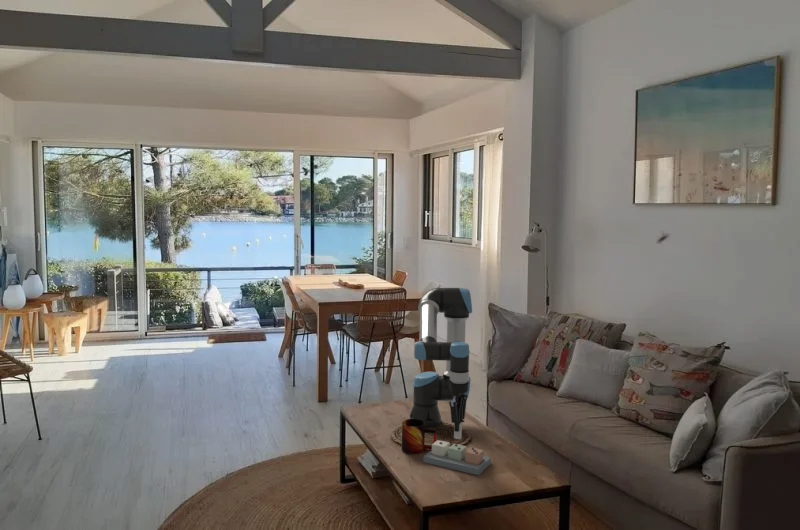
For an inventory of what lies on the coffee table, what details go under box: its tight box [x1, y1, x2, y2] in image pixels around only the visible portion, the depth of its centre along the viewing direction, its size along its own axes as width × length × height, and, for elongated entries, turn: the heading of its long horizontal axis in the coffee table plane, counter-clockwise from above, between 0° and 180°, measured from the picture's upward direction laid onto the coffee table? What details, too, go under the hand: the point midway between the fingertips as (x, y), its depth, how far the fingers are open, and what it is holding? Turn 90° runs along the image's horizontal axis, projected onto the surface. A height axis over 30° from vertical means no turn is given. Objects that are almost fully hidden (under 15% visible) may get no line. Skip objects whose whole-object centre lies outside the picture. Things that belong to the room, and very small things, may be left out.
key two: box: [448, 443, 467, 461], centre depth 262 cm, size 6×6×4 cm
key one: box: [431, 439, 451, 457], centre depth 265 cm, size 6×6×4 cm
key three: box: [465, 447, 485, 465], centre depth 258 cm, size 6×6×4 cm
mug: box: [401, 418, 437, 456], centre depth 274 cm, size 10×14×12 cm
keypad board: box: [423, 449, 492, 476], centre depth 262 cm, size 13×24×2 cm, turn 60°
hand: (457, 438), depth 261 cm, fingers closed
